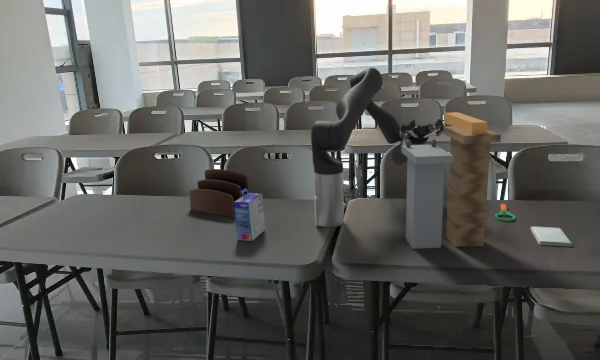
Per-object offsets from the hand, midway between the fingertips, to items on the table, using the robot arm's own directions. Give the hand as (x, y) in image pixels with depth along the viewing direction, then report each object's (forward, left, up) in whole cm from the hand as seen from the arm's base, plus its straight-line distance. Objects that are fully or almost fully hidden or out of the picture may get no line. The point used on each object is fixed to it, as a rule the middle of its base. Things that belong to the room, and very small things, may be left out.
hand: (427, 122), depth 159 cm
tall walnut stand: (+4, -27, -31) cm, 41 cm away
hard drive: (+29, -27, -31) cm, 51 cm away
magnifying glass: (+25, -6, -31) cm, 41 cm away
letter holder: (-71, +12, -31) cm, 78 cm away
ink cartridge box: (-58, -15, -31) cm, 68 cm away
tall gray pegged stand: (-8, -27, -31) cm, 42 cm away
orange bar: (+4, -22, +1) cm, 23 cm away
